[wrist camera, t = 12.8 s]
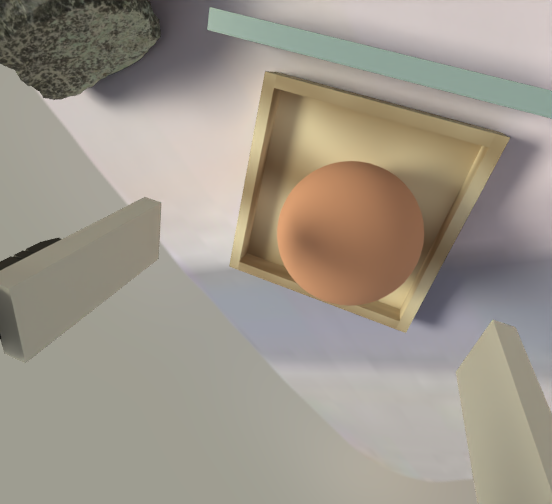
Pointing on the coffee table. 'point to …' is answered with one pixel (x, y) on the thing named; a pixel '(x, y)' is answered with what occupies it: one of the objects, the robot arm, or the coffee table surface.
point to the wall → (384, 62)
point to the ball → (350, 233)
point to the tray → (365, 148)
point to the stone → (73, 41)
